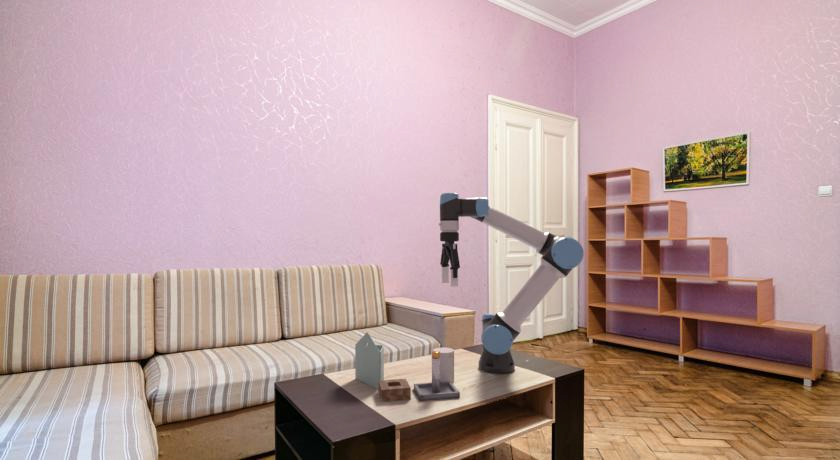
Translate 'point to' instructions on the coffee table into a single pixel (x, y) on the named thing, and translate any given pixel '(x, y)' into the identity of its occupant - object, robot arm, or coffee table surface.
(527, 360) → the coffee table surface
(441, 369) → the white cylinder
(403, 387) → the block
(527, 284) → the robot arm
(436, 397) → the tray
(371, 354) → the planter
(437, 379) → the pin
